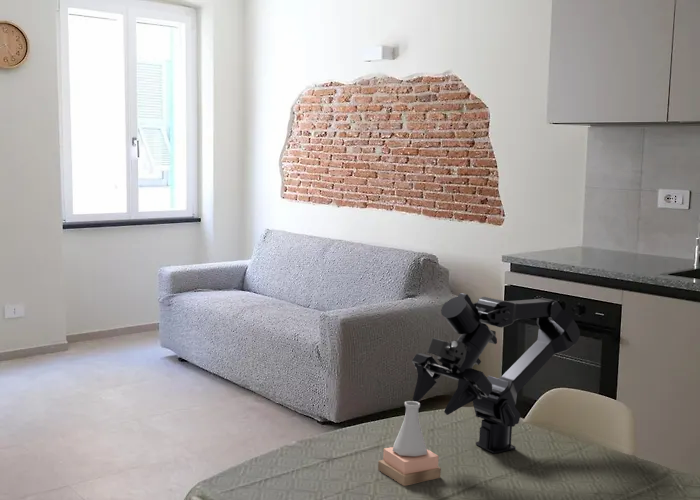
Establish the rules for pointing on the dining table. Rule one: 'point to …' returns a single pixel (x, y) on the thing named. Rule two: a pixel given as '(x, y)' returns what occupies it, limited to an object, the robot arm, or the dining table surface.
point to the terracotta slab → (410, 461)
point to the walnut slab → (408, 478)
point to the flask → (410, 433)
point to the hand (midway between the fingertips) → (429, 407)
